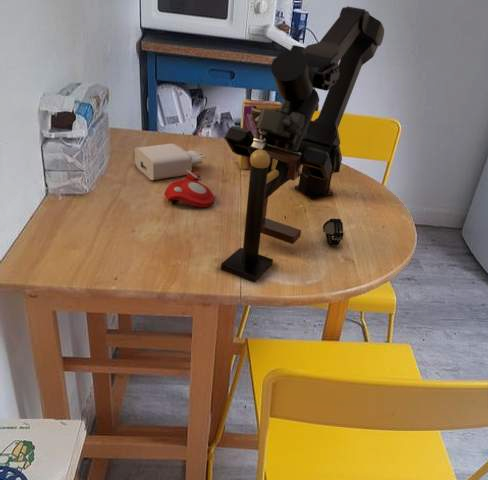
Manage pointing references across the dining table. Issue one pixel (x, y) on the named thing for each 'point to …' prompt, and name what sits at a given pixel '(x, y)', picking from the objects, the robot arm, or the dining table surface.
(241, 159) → the candy box
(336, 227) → the smartwatch
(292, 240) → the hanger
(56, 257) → the dining table surface
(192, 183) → the tracker holder
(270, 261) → the coat rack
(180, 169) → the charger
